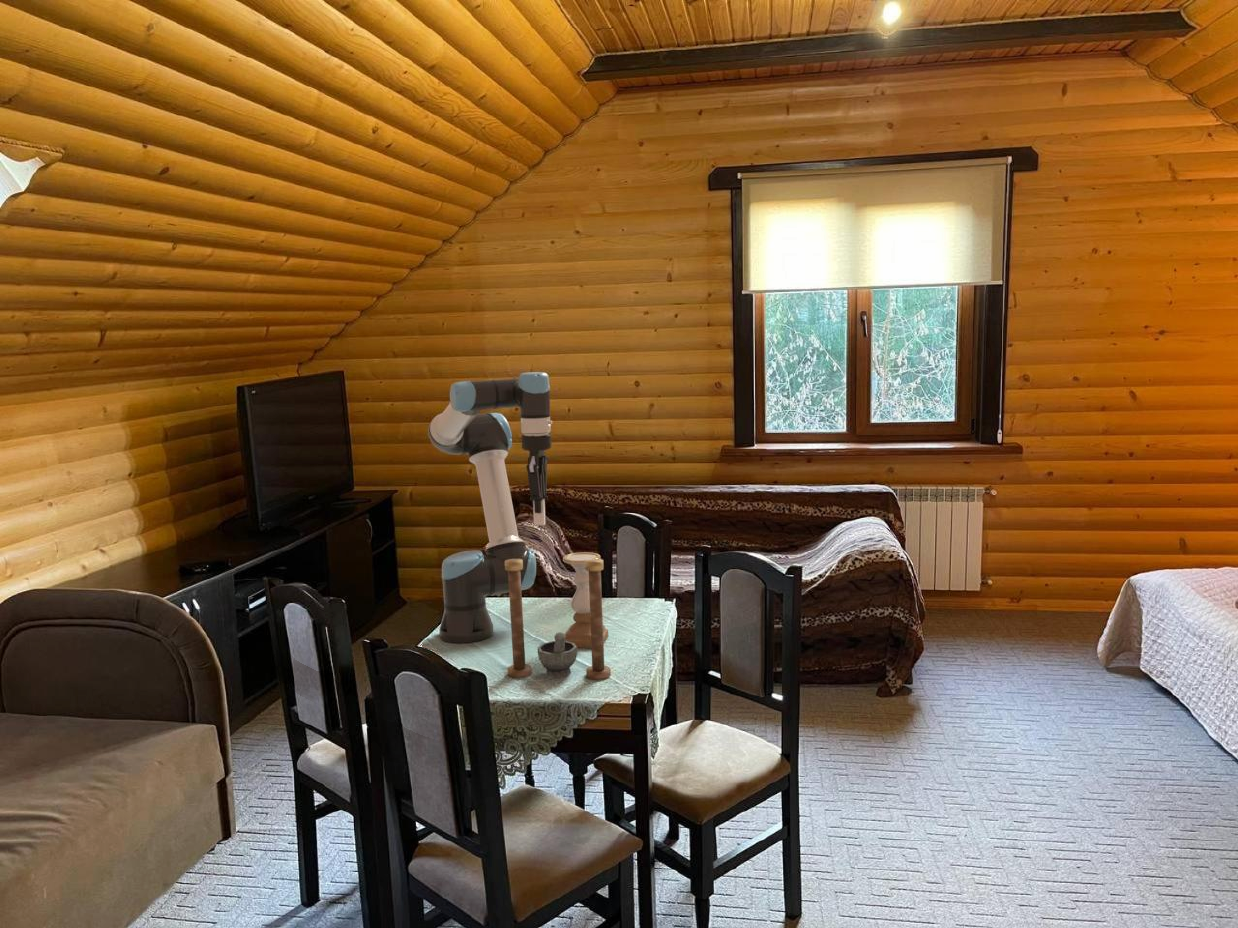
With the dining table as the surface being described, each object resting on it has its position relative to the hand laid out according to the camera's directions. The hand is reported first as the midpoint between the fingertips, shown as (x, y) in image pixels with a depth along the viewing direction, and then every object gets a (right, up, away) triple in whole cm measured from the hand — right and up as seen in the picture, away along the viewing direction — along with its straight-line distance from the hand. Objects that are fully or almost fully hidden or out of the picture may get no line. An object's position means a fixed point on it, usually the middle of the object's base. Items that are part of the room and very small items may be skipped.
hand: (539, 524), depth 240 cm
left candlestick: (-4, -37, -7) cm, 38 cm away
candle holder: (+11, -33, +16) cm, 38 cm away
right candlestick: (+15, -37, -10) cm, 41 cm away
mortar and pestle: (+5, -37, -9) cm, 38 cm away
